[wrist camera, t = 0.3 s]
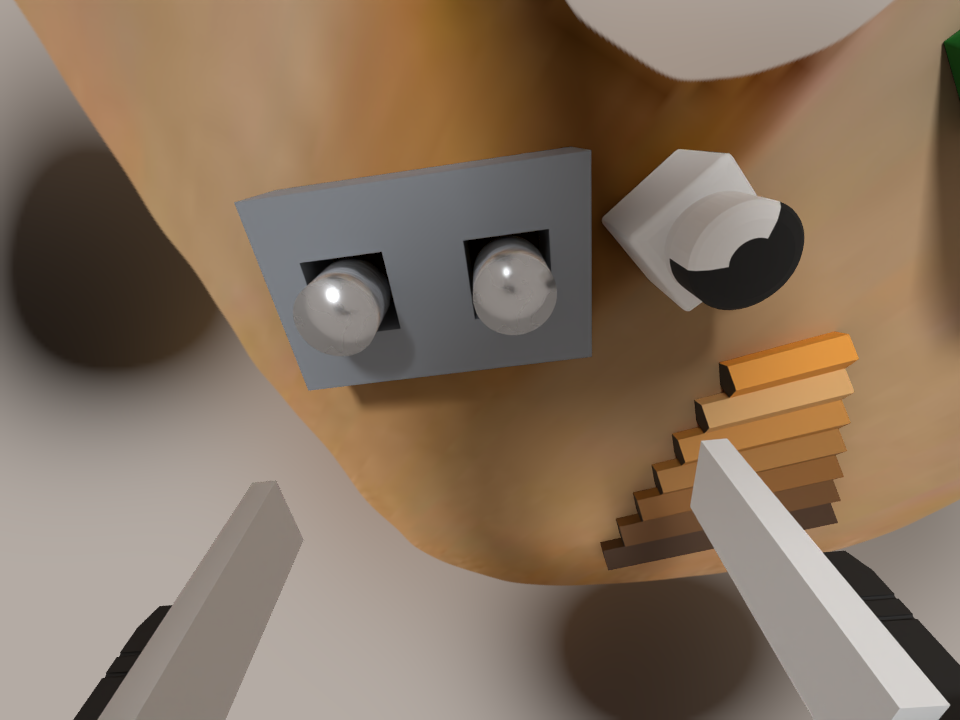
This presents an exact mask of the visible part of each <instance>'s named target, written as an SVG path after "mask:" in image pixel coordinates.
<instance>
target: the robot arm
mask: <svg viewBox="0 0 960 720" xmlns="http://www.w3.org/2000/svg"><path fill="white" fill-rule="evenodd" d="M690 507H691V509H692V511H693V513H694V514H695V516H696V518H697V519H698V521H699V523H700V525H701V526H702V528H703V530H704V532H705V533H706V535H707V537H708V538H709V540H710V542H711V544H712V545H713V547H714V549H715V550H716V552H717V554H718V556H719V557H720V559H721V561H722V563H723V564H724V566H725V568H726V569H727V571H728V573H729V574H730V576H731V578H732V580H733V581H734V583H735V585H736V587H737V588H738V590H739V592H740V594H741V595H742V597H743V599H744V600H745V602H746V604H747V606H748V607H749V609H750V611H751V613H752V614H753V616H754V617H755V619H756V621H757V623H758V625H759V626H760V628H761V630H762V632H763V633H764V635H765V637H766V638H767V640H768V642H769V643H770V645H771V647H772V649H773V650H774V652H775V654H776V656H777V657H778V659H779V661H780V663H781V664H782V666H783V668H784V669H785V671H786V673H787V674H788V676H789V678H790V680H791V681H792V683H793V685H794V686H795V688H796V690H797V691H798V693H799V695H800V697H801V699H802V700H803V702H804V704H805V706H806V707H807V709H808V711H809V713H810V714H811V716H812V718H813V719H814V720H960V665H959V664H958V663H957V662H956V661H955V660H954V659H953V657H952V656H951V655H950V654H949V653H948V652H947V651H946V650H945V649H944V648H943V646H942V645H941V644H940V643H939V642H938V641H937V640H936V639H935V638H934V637H933V636H932V634H931V633H930V632H929V631H928V630H927V629H926V628H925V627H924V626H923V625H922V624H921V623H920V621H919V620H918V619H915V618H914V617H913V614H912V613H911V612H910V610H909V609H908V608H907V607H906V606H905V605H904V604H903V603H902V602H901V601H900V600H899V599H896V598H895V596H894V593H893V592H892V591H891V590H890V589H889V588H888V587H887V585H886V584H885V583H884V582H883V581H882V580H881V579H880V578H879V577H878V576H877V575H876V573H875V572H874V571H873V570H872V569H870V568H869V567H867V566H866V565H864V564H863V563H861V562H860V561H859V560H857V559H856V558H854V557H853V556H852V555H850V554H849V553H847V552H846V551H835V552H822V551H821V550H820V549H819V548H818V546H817V545H816V544H815V543H814V542H813V540H812V539H811V538H810V537H809V536H808V534H807V533H806V532H805V531H804V530H803V528H802V527H801V526H800V525H799V524H798V522H797V521H796V520H795V519H794V518H793V516H792V515H791V514H790V513H789V512H788V511H787V509H786V508H785V507H784V506H783V505H782V503H781V502H780V501H779V500H778V499H777V497H776V496H775V495H774V494H773V493H772V491H771V490H770V489H769V488H768V487H767V485H766V484H765V483H764V482H763V481H762V479H761V478H760V477H759V476H758V475H757V473H756V472H755V471H754V470H753V469H752V467H751V466H750V465H749V464H748V463H747V462H746V460H745V459H744V458H743V457H742V456H741V454H740V453H739V452H738V451H737V450H736V448H735V447H734V446H733V445H732V444H731V442H730V441H729V440H728V439H727V438H726V439H715V440H705V441H701V444H700V450H699V456H698V462H697V468H696V474H695V480H694V486H693V492H692V498H691V504H690ZM302 542H303V538H302V536H301V533H300V531H299V529H298V527H297V525H296V523H295V520H294V518H293V516H292V514H291V512H290V510H289V507H288V505H287V503H286V501H285V499H284V497H283V494H282V492H281V490H280V488H279V486H278V484H277V481H266V482H255V483H252V484H251V486H250V487H249V489H248V491H247V492H246V494H245V495H244V497H243V498H242V500H241V501H240V503H239V505H238V506H237V507H236V509H235V510H234V512H233V513H232V515H231V516H230V518H229V520H228V521H227V523H226V524H225V526H224V527H223V529H222V530H221V532H220V533H219V535H218V536H217V538H216V539H215V541H214V542H213V544H212V546H211V547H210V549H209V550H208V552H207V553H206V555H205V556H204V558H203V559H202V561H201V562H200V564H199V565H198V567H197V568H196V570H195V571H194V573H193V575H192V576H191V578H190V579H189V581H188V582H187V584H186V585H185V587H184V588H183V590H182V591H181V593H180V594H179V596H178V597H177V599H176V601H175V602H174V604H173V605H171V606H170V605H169V606H159V607H158V608H157V609H156V610H155V611H154V612H153V613H152V614H151V615H150V616H149V617H148V618H147V619H146V620H145V621H144V622H143V623H142V624H141V625H140V626H139V627H138V628H137V629H136V631H135V632H134V634H133V635H132V636H131V638H130V639H129V641H128V642H127V643H126V645H125V646H124V648H123V649H122V651H121V652H120V653H121V654H120V656H119V657H117V658H116V659H115V661H114V662H113V664H112V665H111V666H110V668H109V669H108V671H107V672H106V677H105V678H102V679H101V681H100V682H99V684H98V685H97V687H96V688H95V689H94V691H93V692H92V694H91V695H90V697H89V698H88V699H87V701H86V702H85V704H84V705H83V707H82V708H81V710H80V711H79V712H78V714H77V715H76V717H75V718H74V720H225V719H226V717H227V715H228V712H229V710H230V708H231V705H232V703H233V701H234V699H235V696H236V694H237V692H238V689H239V687H240V685H241V683H242V680H243V678H244V676H245V673H246V671H247V668H248V666H249V664H250V662H251V660H252V657H253V655H254V653H255V650H256V648H257V646H258V643H259V641H260V639H261V636H262V634H263V632H264V630H265V627H266V625H267V623H268V620H269V618H270V616H271V613H272V611H273V609H274V606H275V604H276V602H277V600H278V597H279V595H280V593H281V590H282V588H283V586H284V583H285V581H286V579H287V577H288V574H289V572H290V570H291V567H292V565H293V563H294V560H295V558H296V556H297V553H298V551H299V549H300V547H301V544H302Z"/></svg>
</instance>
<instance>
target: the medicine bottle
mask: <svg viewBox="0 0 960 720" xmlns="http://www.w3.org/2000/svg"><path fill="white" fill-rule="evenodd" d="M602 223H603V225H604V226H605V227H606V228H607V230H608V231H609V232H610V233H611V234H612V236H613V237H614V238H615V239H616V240H617V242H618V243H619V244H620V245H621V247H622V248H623V249H624V250H625V251H626V253H627V254H628V255H629V256H630V257H631V259H632V260H633V261H634V262H635V264H636V265H637V266H638V267H639V268H640V270H641V271H642V272H643V273H644V274H645V276H646V277H647V278H648V279H649V280H650V281H651V282H652V283H653V284H654V285H655V286H656V287H658V288H659V289H660V290H661V291H662V292H663V293H665V294H666V295H667V296H668V297H669V298H670V299H671V300H673V301H674V302H675V303H676V304H677V305H678V306H680V307H681V308H682V309H683V310H685V311H690V310H692V309H694V308H695V307H696V306H698V305H699V304H700V303H702V302H703V303H705V304H707V305H709V306H711V307H713V308H717V309H722V310H736V309H742V308H746V307H749V306H752V305H755V304H757V303H759V302H761V301H763V300H764V299H766V298H768V297H769V296H771V295H772V294H774V293H775V292H776V291H777V290H779V289H780V288H781V287H782V286H783V285H784V284H785V283H786V282H787V280H788V279H789V278H790V277H791V275H792V274H793V272H794V271H795V269H796V267H797V265H798V263H799V261H800V258H801V255H802V251H803V246H804V230H803V226H802V223H801V220H800V218H799V217H798V215H797V214H796V213H795V211H794V210H793V209H792V208H790V207H789V206H788V205H786V204H784V203H782V202H780V201H776V200H772V199H768V198H764V197H759V196H757V195H756V193H755V191H754V190H753V188H752V187H751V185H750V184H749V182H748V180H747V179H746V177H745V176H744V174H743V172H742V171H741V169H740V168H739V166H738V164H737V163H736V161H735V160H734V158H733V156H732V155H730V154H729V153H718V152H707V151H696V150H685V149H678V150H676V151H675V152H674V153H673V154H672V155H670V156H669V157H668V158H667V159H666V160H665V161H664V162H663V163H662V164H661V165H659V166H658V167H657V168H656V169H655V170H654V171H653V172H652V173H651V174H650V175H648V176H647V177H646V178H645V179H644V180H643V181H642V182H641V183H640V184H639V185H637V186H636V187H635V188H634V189H633V190H632V191H631V192H630V193H629V194H628V195H626V196H625V197H624V198H623V199H622V200H621V201H620V202H619V203H618V204H617V205H615V206H614V207H613V208H612V209H611V210H610V211H609V212H608V213H607V214H606V215H604V216H603V218H602Z"/></svg>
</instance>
